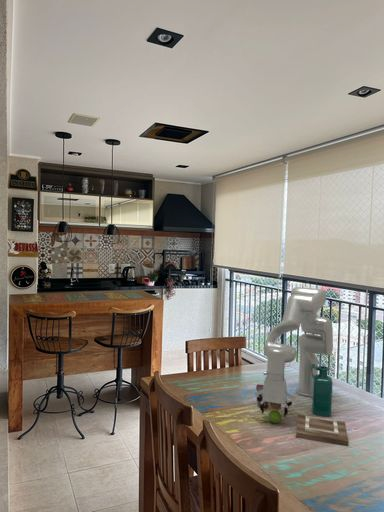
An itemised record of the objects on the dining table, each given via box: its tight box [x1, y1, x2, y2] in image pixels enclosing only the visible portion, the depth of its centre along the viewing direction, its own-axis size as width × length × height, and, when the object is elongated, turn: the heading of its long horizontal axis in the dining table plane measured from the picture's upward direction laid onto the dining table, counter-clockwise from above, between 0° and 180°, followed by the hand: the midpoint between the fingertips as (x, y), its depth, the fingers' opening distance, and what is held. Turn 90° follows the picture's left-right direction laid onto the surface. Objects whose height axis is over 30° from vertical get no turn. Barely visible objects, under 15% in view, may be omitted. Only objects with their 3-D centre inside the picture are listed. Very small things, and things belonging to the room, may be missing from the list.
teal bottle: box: [311, 364, 333, 418], centre depth 183 cm, size 10×8×22 cm
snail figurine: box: [268, 402, 282, 424], centre depth 171 cm, size 5×6×12 cm
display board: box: [295, 414, 349, 447], centre depth 164 cm, size 18×20×3 cm
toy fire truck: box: [255, 383, 269, 409], centre depth 188 cm, size 7×12×10 cm, turn 84°
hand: (273, 414), depth 171 cm, fingers open, 9 cm apart
